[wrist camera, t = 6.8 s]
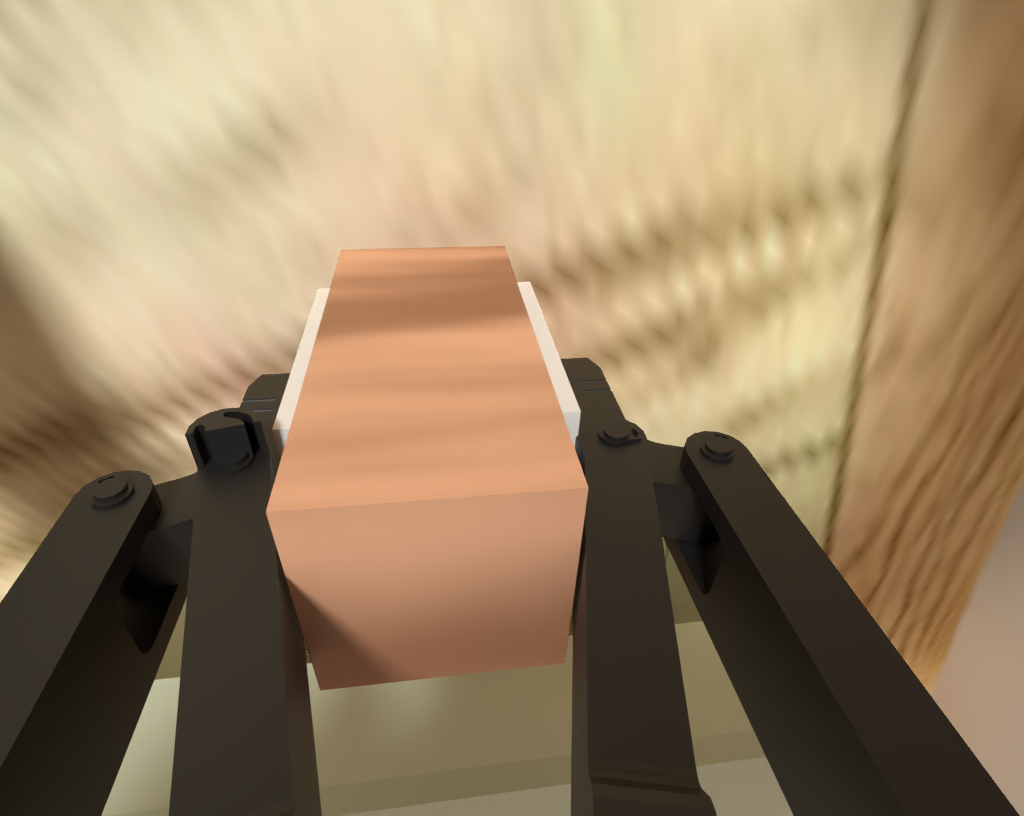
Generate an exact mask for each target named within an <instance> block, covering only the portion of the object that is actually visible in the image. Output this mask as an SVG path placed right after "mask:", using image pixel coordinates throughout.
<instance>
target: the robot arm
mask: <svg viewBox="0 0 1024 816" xmlns="http://www.w3.org/2000/svg"><path fill="white" fill-rule="evenodd" d="M517 284H518V287H519V290H520V292H521V295H522V298H523V301H524V304H525V307H526V310H527V313H528V315H529V318H530V321H531V324H532V327H533V330H534V333H535V336H536V338H537V341H538V344H539V347H540V350H541V353H542V356H543V358H544V361H545V364H546V367H547V370H548V373H549V376H550V379H551V381H552V384H553V387H554V390H555V393H556V396H557V399H558V402H559V404H560V407H561V410H562V413H563V416H564V419H565V422H566V425H567V427H568V430H569V433H570V436H571V439H572V442H573V445H574V448H575V450H576V453H577V456H578V459H579V462H580V465H581V468H582V471H583V473H584V476H585V479H586V482H587V485H588V495H587V503H586V510H585V517H584V525H583V532H582V540H581V547H580V555H579V562H578V569H577V577H576V584H575V592H574V599H573V661H572V745H571V816H717V815H716V810H715V808H714V805H713V803H712V800H711V797H710V796H709V795H708V794H707V793H706V792H705V791H704V790H703V789H702V788H701V785H700V783H699V779H698V775H697V770H696V763H695V756H694V750H693V743H692V736H691V730H690V723H689V716H688V710H687V703H686V696H685V690H684V683H683V676H682V670H681V663H680V656H679V650H678V643H677V636H676V630H675V623H674V616H673V610H672V603H671V596H670V590H669V583H668V576H667V570H666V563H665V556H664V550H663V543H662V537H664V539H665V542H666V544H667V546H668V548H669V551H670V553H671V555H672V557H673V559H674V561H675V563H676V566H677V568H678V570H679V572H680V574H681V576H682V578H683V581H684V583H685V585H686V587H687V589H688V591H689V593H690V595H691V598H692V600H693V602H694V604H695V606H696V608H697V610H698V613H699V615H700V617H701V619H702V621H703V623H704V625H705V628H706V630H707V632H708V634H709V636H710V638H711V640H712V642H713V645H714V647H715V649H716V651H717V653H718V655H719V657H720V660H721V662H722V664H723V666H724V668H725V670H726V672H727V675H728V677H729V679H730V681H731V683H732V685H733V687H734V690H735V692H736V694H737V696H738V698H739V700H740V702H741V704H742V707H743V709H744V711H745V713H746V715H747V717H748V719H749V722H750V724H751V726H752V728H753V730H754V732H755V734H756V737H757V739H758V741H759V743H760V745H761V747H762V749H763V751H764V754H765V756H766V758H767V760H768V762H769V764H770V766H771V769H772V771H773V773H774V775H775V777H776V779H777V781H778V784H779V786H780V788H781V790H782V792H783V794H784V796H785V799H786V801H787V803H788V805H789V807H790V809H791V811H792V813H793V816H1019V814H1018V813H1017V812H1016V810H1015V809H1014V807H1013V806H1012V805H1011V803H1010V802H1009V801H1008V799H1007V798H1006V797H1005V795H1004V794H1003V793H1002V791H1001V790H1000V789H999V787H998V786H997V785H996V783H995V782H994V781H993V779H992V778H991V776H990V775H989V774H988V772H987V771H986V770H985V768H984V767H983V766H982V765H981V763H980V762H979V760H978V759H977V758H976V756H975V755H974V754H973V752H972V751H971V750H970V748H969V747H968V746H967V744H966V743H965V742H964V740H963V739H962V738H961V736H960V735H959V733H958V732H957V731H956V729H955V728H954V727H953V725H952V724H951V723H950V721H949V720H948V719H947V717H946V716H945V715H944V713H943V712H942V710H941V709H940V708H939V706H938V705H937V704H936V702H935V701H934V700H933V698H932V697H931V696H930V694H929V693H928V692H927V690H926V689H925V687H924V686H923V685H922V683H921V682H920V681H919V679H918V678H917V677H916V675H915V674H914V673H913V671H912V670H911V669H910V667H909V666H908V665H907V663H906V662H905V661H904V659H903V658H902V656H901V655H900V654H899V652H898V651H897V650H896V648H895V647H894V646H893V644H892V643H891V642H890V640H889V639H888V638H887V636H886V635H885V634H884V632H883V631H882V630H881V628H880V627H879V625H878V624H877V623H876V621H875V620H874V619H873V617H872V616H871V615H870V613H869V612H868V611H867V609H866V608H865V607H864V605H863V604H862V603H861V601H860V600H859V599H858V597H857V596H856V594H855V593H854V592H853V590H852V589H851V588H850V586H849V585H848V584H847V582H846V581H845V580H844V578H843V577H842V576H841V574H840V573H839V572H838V570H837V569H836V568H835V566H834V565H833V563H832V562H831V561H830V559H829V558H828V557H827V555H826V554H825V553H824V551H823V550H822V549H821V547H820V546H819V545H818V543H817V542H816V541H815V539H814V538H813V537H812V535H811V534H810V532H809V531H808V530H807V528H806V527H805V526H804V524H803V523H802V522H801V520H800V519H799V518H798V516H797V515H796V514H795V512H794V511H793V510H792V508H791V507H790V505H789V504H788V503H787V501H786V500H785V499H784V497H783V496H782V495H781V493H780V492H779V491H778V489H777V488H776V487H775V485H774V484H773V483H772V481H771V480H770V479H769V477H768V476H767V474H766V473H765V472H764V470H763V469H762V468H761V466H760V465H759V464H758V462H757V461H756V460H755V458H754V457H753V456H752V454H751V453H750V452H749V450H748V449H747V448H746V447H745V446H744V445H743V444H742V443H741V442H740V441H738V440H737V439H735V438H733V437H731V436H729V435H726V434H723V433H719V432H709V431H703V432H699V433H694V434H693V435H691V436H690V437H688V438H687V440H686V443H685V446H684V447H678V446H671V445H664V444H660V443H655V442H652V441H649V440H647V438H646V436H645V433H644V431H643V430H642V429H641V428H639V427H638V426H637V425H636V424H634V423H631V422H629V421H627V420H625V418H624V416H623V413H622V411H621V409H620V407H619V405H618V403H617V401H616V399H615V397H614V395H613V393H612V391H610V387H609V385H608V383H607V382H606V379H605V377H604V375H603V373H602V370H601V368H600V367H599V366H597V365H596V364H595V363H593V362H592V361H591V360H590V359H588V358H572V359H560V357H559V355H558V352H557V349H556V347H555V344H554V342H553V339H552V337H551V334H550V332H549V329H548V326H547V324H546V321H545V319H544V316H543V314H542V311H541V309H540V306H539V303H538V301H537V298H536V296H535V293H534V291H533V288H532V286H531V283H530V282H517ZM329 291H330V288H318V290H317V293H316V297H315V300H314V303H313V306H312V309H311V312H310V315H309V318H308V321H307V324H306V327H305V330H304V333H303V336H302V340H301V343H300V346H299V349H298V352H297V355H296V358H295V361H294V364H293V367H292V370H291V373H287V374H267V375H261V376H260V377H259V378H258V379H257V380H255V381H254V382H253V383H252V384H251V385H250V386H249V387H248V389H247V391H246V393H245V396H244V398H243V402H242V403H241V405H240V408H228V409H221V410H218V411H214V412H210V413H208V414H206V415H204V416H202V417H200V418H198V419H197V420H196V421H195V422H194V423H192V424H191V425H190V426H189V427H188V430H187V432H186V434H185V436H186V438H187V441H188V444H189V446H190V449H191V452H192V454H193V457H194V460H195V462H196V465H197V468H198V471H197V472H196V473H194V474H192V475H189V476H186V477H183V478H180V479H177V480H173V481H169V482H165V483H162V484H158V485H154V484H153V482H152V480H151V478H150V476H149V475H147V474H144V473H142V472H140V471H122V472H116V473H111V474H108V475H106V476H103V477H100V478H98V479H96V480H94V481H92V482H91V483H89V484H88V485H86V486H84V487H83V488H82V489H81V490H80V491H79V492H78V493H77V494H76V495H75V496H74V497H73V499H72V500H71V502H70V503H69V505H68V506H67V507H66V509H65V510H64V512H63V513H62V515H61V516H60V518H59V519H58V520H57V522H56V523H55V525H54V526H53V528H52V529H51V531H50V532H49V533H48V535H47V536H46V538H45V539H44V541H43V542H42V544H41V545H40V546H39V548H38V549H37V551H36V552H35V554H34V555H33V557H32V558H31V559H30V561H29V562H28V564H27V565H26V567H25V568H24V570H23V571H22V572H21V574H20V575H19V577H18V578H17V580H16V581H15V583H14V584H13V585H12V587H11V588H10V590H9V591H8V593H7V594H6V596H5V597H4V599H3V600H2V601H1V603H0V816H101V815H102V813H103V810H104V808H105V805H106V802H107V800H108V797H109V795H110V792H111V790H112V787H113V785H114V782H115V779H116V777H117V774H118V772H119V769H120V767H121V764H122V762H123V759H124V756H125V754H126V751H127V749H128V746H129V744H130V741H131V739H132V736H133V733H134V731H135V728H136V726H137V723H138V721H139V718H140V715H141V713H142V710H143V708H144V705H145V703H146V700H147V698H148V695H149V692H150V690H151V687H152V685H153V682H154V680H155V677H156V675H157V672H158V669H159V667H160V664H161V662H162V659H163V657H164V654H165V652H166V649H167V646H168V644H169V641H170V639H171V636H172V634H173V631H174V628H175V626H176V623H177V621H178V618H179V616H180V613H181V611H182V608H183V605H184V603H185V600H186V598H187V602H186V614H185V626H184V638H183V650H182V662H181V674H180V686H179V698H178V709H177V721H176V733H175V745H174V757H173V769H172V781H171V793H170V805H169V816H322V811H321V801H320V791H319V781H318V771H317V761H316V751H315V741H314V732H313V722H312V712H311V702H310V692H309V682H308V672H307V662H306V652H305V642H304V636H303V633H302V630H301V626H300V623H299V620H298V616H297V613H296V610H295V607H294V603H293V600H292V597H291V593H290V590H289V587H288V584H287V580H286V577H285V574H284V570H283V567H282V564H281V561H280V557H279V554H278V551H277V547H276V544H275V541H274V538H273V534H272V531H271V528H270V524H269V521H268V518H267V515H266V509H267V506H268V502H269V499H270V496H271V492H272V489H273V485H274V482H275V478H276V475H277V471H278V468H279V464H280V461H281V457H282V454H283V450H284V447H285V443H286V440H287V436H288V433H289V430H290V426H291V423H292V419H293V416H294V412H295V409H296V405H297V402H298V398H299V395H300V391H301V388H302V384H303V381H304V377H305V374H306V370H307V367H308V364H309V360H310V357H311V353H312V350H313V346H314V343H315V339H316V336H317V332H318V329H319V325H320V322H321V318H322V315H323V311H324V308H325V304H326V301H327V298H328V294H329Z"/></svg>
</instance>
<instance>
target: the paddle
mask: <svg viewBox="0 0 1024 816" xmlns="http://www.w3.org/2000/svg"><path fill="white" fill-rule="evenodd" d="M587 495H588V485H587V482H586V479H585V476H584V473H583V471H582V468H581V465H580V462H579V459H578V456H577V453H576V450H575V448H574V445H573V442H572V439H571V436H570V433H569V430H568V427H567V425H566V422H565V419H564V416H563V413H562V410H561V407H560V404H559V402H558V399H557V396H556V393H555V390H554V387H553V384H552V381H551V379H550V376H549V373H548V370H547V367H546V364H545V361H544V358H543V356H542V353H541V350H540V347H539V344H538V341H537V338H536V336H535V333H534V330H533V327H532V324H531V321H530V318H529V315H528V313H527V310H526V307H525V304H524V301H523V298H522V295H521V292H520V290H519V287H518V284H517V281H516V278H515V275H514V272H513V269H512V267H511V264H510V261H509V258H508V255H507V252H506V249H505V246H490V247H447V248H404V249H360V250H341V252H340V256H339V259H338V263H337V266H336V270H335V273H334V277H333V280H332V284H331V287H330V291H329V294H328V298H327V301H326V304H325V308H324V311H323V315H322V318H321V322H320V325H319V329H318V332H317V336H316V339H315V343H314V346H313V350H312V353H311V357H310V360H309V364H308V367H307V370H306V374H305V377H304V381H303V384H302V388H301V391H300V395H299V398H298V402H297V405H296V409H295V412H294V416H293V419H292V423H291V426H290V430H289V433H288V436H287V440H286V443H285V447H284V450H283V454H282V457H281V461H280V464H279V468H278V471H277V475H276V478H275V482H274V485H273V489H272V492H271V496H270V499H269V502H268V506H267V509H266V515H267V518H268V521H269V524H270V528H271V531H272V534H273V538H274V541H275V544H276V547H277V551H278V554H279V557H280V561H281V564H282V567H283V570H284V574H285V577H286V580H287V584H288V587H289V590H290V593H291V597H292V600H293V603H294V607H295V610H296V613H297V616H298V620H299V623H300V626H301V630H302V633H303V636H304V639H305V643H306V646H307V649H308V653H309V656H310V659H311V662H312V666H313V669H314V672H315V676H316V679H317V682H318V685H319V689H320V691H321V690H330V689H339V688H348V687H357V686H365V685H374V684H383V683H392V682H401V681H410V680H419V679H428V678H437V677H446V676H455V675H463V674H472V673H481V672H490V671H499V670H508V669H517V668H526V667H535V666H544V665H553V664H561V663H565V658H566V651H567V644H568V636H569V629H570V621H571V614H572V606H573V599H574V592H575V584H576V577H577V569H578V562H579V555H580V547H581V540H582V532H583V525H584V517H585V510H586V503H587Z"/></svg>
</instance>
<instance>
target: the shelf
mask: <svg viewBox="0 0 1024 816" xmlns="http://www.w3.org/2000/svg"><path fill="white" fill-rule="evenodd" d="M666 570H667V576H668V583H669V590H670V596H671V603H672V610H673V616H674V623H675V630H676V636H677V643H678V650H679V656H680V663H681V670H682V676H683V683H684V690H685V696H686V703H687V710H688V716H689V723H690V730H691V736H692V743H693V750H694V756H695V763H696V770H697V775H698V779H699V783H700V785H701V788H702V789H703V790H704V791H705V792H706V793H707V794H708V795H709V796H710V797H711V800H712V803H713V805H714V808H715V810H716V815H717V816H793V813H792V811H791V809H790V807H789V805H788V803H787V801H786V799H785V796H784V794H783V792H782V790H781V788H780V786H779V784H778V781H777V779H776V777H775V775H774V773H773V771H772V769H771V766H770V764H769V762H768V760H767V758H766V756H765V754H764V751H763V749H762V747H761V745H760V743H759V741H758V739H757V737H756V734H755V732H754V730H753V728H752V726H751V724H750V722H749V719H748V717H747V715H746V713H745V711H744V709H743V707H742V704H741V702H740V700H739V698H738V696H737V694H736V692H735V690H734V687H733V685H732V683H731V681H730V679H729V677H728V675H727V672H726V670H725V668H724V666H723V664H722V662H721V660H720V657H719V655H718V653H717V651H716V649H715V647H714V645H713V642H712V640H711V638H710V636H709V634H708V632H707V630H706V628H705V625H704V623H703V621H702V619H701V617H700V615H699V613H698V610H697V608H696V606H695V604H694V602H693V600H692V598H691V595H690V593H689V591H688V589H687V587H686V585H685V583H684V581H683V578H682V576H681V574H680V572H679V570H678V568H677V566H676V563H675V561H674V559H673V557H672V555H671V553H670V551H669V553H668V556H667V560H666ZM186 602H187V598H186V600H185V603H184V605H183V608H182V611H181V613H180V616H179V618H178V621H177V623H176V626H175V628H174V631H173V634H172V636H171V639H170V641H169V644H168V646H167V649H166V652H165V654H164V657H163V659H162V662H161V664H160V667H159V669H158V672H157V675H156V677H155V680H154V682H153V685H152V687H151V690H150V692H149V695H148V698H147V700H146V703H145V705H144V708H143V710H142V713H141V715H140V718H139V721H138V723H137V726H136V728H135V731H134V733H133V736H132V739H131V741H130V744H129V746H128V749H127V751H126V754H125V756H124V759H123V762H122V764H121V767H120V769H119V772H118V774H117V777H116V779H115V782H114V785H113V787H112V790H111V792H110V795H109V797H108V800H107V802H106V805H105V808H104V810H103V813H102V815H101V816H169V805H170V793H171V781H172V769H173V757H174V745H175V733H176V721H177V709H178V698H179V686H180V674H181V662H182V650H183V638H184V626H185V614H186ZM572 661H573V635H569V636H568V644H567V651H566V658H565V663H561V664H553V665H544V666H535V667H526V668H517V669H508V670H499V671H490V672H481V673H472V674H463V675H455V676H446V677H437V678H428V679H419V680H410V681H401V682H392V683H383V684H374V685H365V686H357V687H348V688H339V689H330V690H321V691H320V689H319V685H318V682H317V679H316V676H315V672H314V669H313V666H312V663H307V672H308V682H309V692H310V702H311V712H312V722H313V732H314V741H315V751H316V761H317V771H318V781H319V791H320V801H321V811H322V816H571V745H572Z"/></svg>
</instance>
